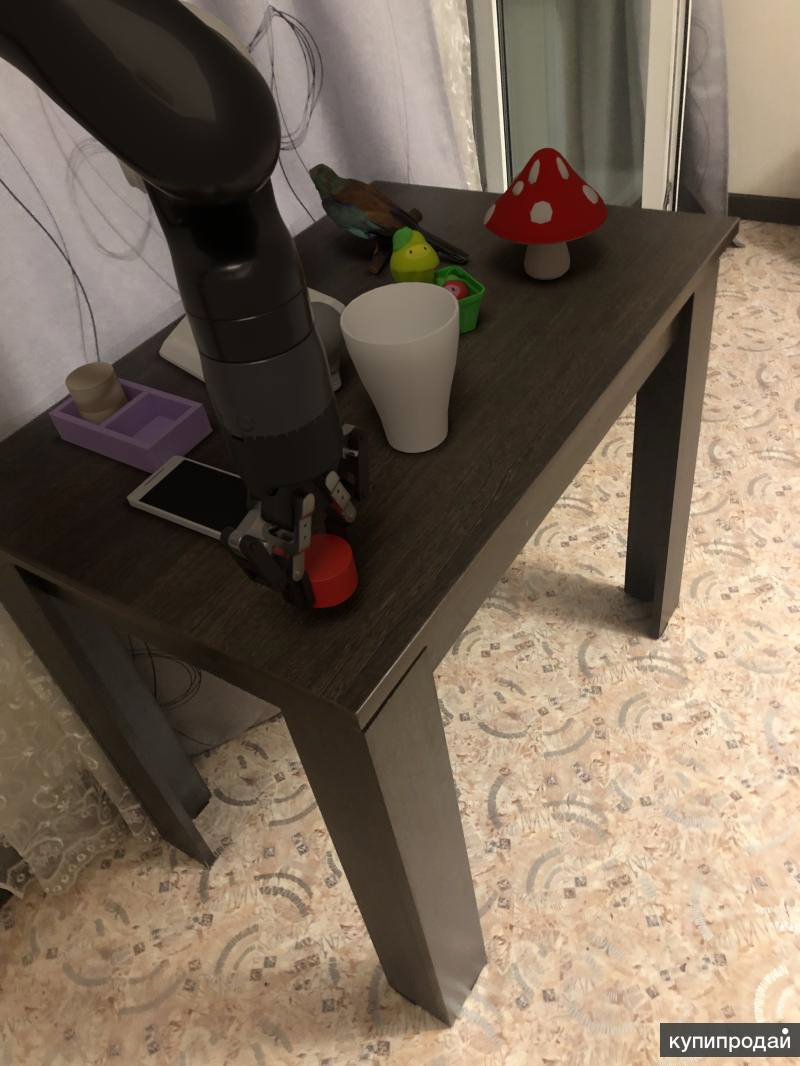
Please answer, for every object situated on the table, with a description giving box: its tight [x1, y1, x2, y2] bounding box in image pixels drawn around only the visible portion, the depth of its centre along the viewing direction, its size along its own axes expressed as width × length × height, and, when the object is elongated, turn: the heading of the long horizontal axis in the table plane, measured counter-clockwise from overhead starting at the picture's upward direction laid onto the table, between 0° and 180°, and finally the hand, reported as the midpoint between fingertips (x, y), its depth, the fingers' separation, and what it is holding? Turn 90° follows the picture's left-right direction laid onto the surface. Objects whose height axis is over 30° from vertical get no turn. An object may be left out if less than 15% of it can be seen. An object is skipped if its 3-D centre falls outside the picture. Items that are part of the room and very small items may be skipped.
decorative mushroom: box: [483, 147, 609, 281], centre depth 94 cm, size 14×14×15 cm
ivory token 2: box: [79, 393, 129, 425], centre depth 87 cm, size 5×5×3 cm
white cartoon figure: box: [115, 0, 346, 383], centre depth 86 cm, size 20×23×35 cm
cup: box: [340, 282, 460, 454], centre depth 76 cm, size 10×10×14 cm
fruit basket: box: [389, 227, 486, 335], centre depth 90 cm, size 11×9×11 cm
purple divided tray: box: [48, 376, 214, 475], centre depth 85 cm, size 8×15×4 cm, turn 57°
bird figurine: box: [308, 163, 470, 275], centre depth 104 cm, size 13×10×20 cm
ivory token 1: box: [64, 361, 124, 413], centre depth 85 cm, size 5×5×3 cm
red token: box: [286, 533, 359, 609], centre depth 62 cm, size 5×5×3 cm
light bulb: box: [311, 302, 346, 392], centre depth 84 cm, size 6×6×10 cm
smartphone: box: [126, 455, 249, 541], centre depth 76 cm, size 7×15×1 cm, turn 59°
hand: (324, 578), depth 62 cm, fingers closed on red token, 5 cm apart
